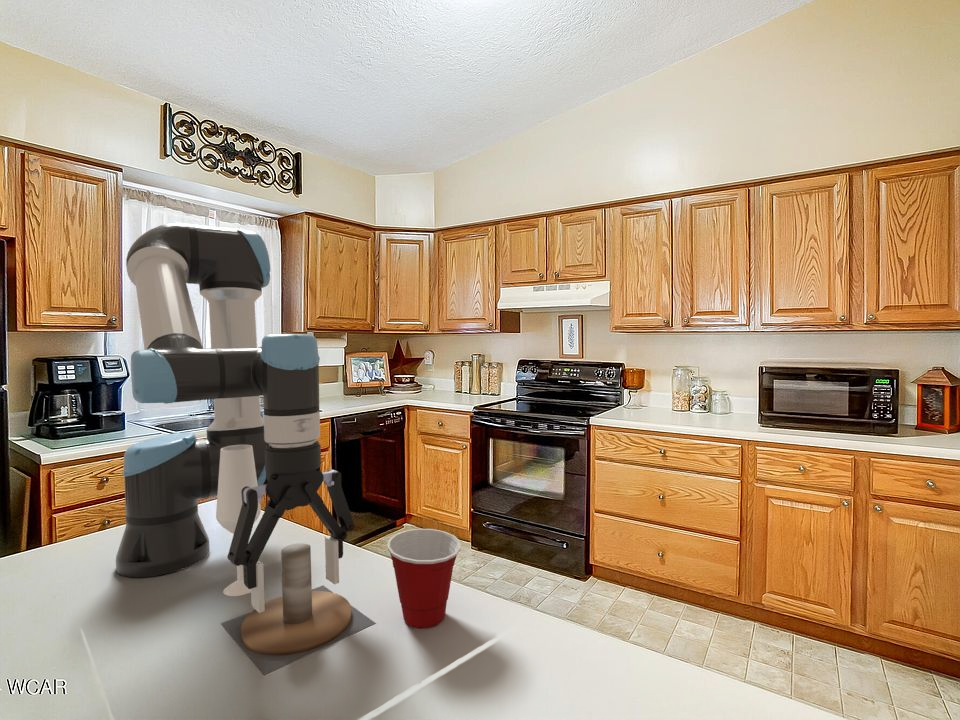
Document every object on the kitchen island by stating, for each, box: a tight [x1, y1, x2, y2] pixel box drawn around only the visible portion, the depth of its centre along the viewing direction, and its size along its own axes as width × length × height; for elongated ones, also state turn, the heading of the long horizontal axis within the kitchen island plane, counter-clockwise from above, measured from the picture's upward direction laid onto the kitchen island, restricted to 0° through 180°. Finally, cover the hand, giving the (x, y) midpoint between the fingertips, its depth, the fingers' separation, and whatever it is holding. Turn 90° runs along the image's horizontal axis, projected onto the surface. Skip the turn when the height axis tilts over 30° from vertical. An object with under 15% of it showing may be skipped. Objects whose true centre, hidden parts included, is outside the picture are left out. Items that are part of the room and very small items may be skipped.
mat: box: [220, 585, 377, 676], centre depth 74 cm, size 16×16×1 cm
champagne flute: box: [215, 445, 262, 597], centre depth 84 cm, size 7×7×24 cm
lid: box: [241, 542, 352, 656], centre depth 74 cm, size 15×15×11 cm
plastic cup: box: [386, 528, 462, 630], centre depth 75 cm, size 11×11×12 cm
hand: (297, 593), depth 74 cm, fingers open, 10 cm apart
